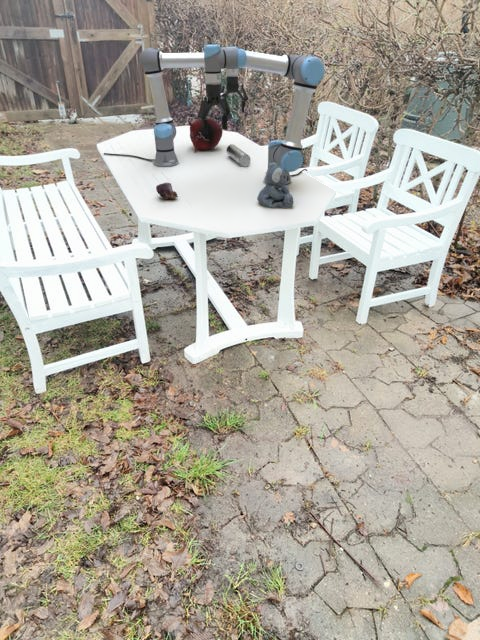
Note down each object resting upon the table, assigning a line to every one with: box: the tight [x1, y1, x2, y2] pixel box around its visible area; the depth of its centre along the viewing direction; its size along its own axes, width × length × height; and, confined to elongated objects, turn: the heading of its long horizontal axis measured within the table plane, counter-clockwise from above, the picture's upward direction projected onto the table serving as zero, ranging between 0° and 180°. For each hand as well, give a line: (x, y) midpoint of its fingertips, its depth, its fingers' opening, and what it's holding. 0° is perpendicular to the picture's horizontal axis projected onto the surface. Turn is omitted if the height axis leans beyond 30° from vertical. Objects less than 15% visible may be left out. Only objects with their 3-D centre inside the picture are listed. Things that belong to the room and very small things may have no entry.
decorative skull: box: [187, 117, 224, 153], centre depth 321 cm, size 21×24×25 cm
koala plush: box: [256, 163, 294, 209], centre depth 226 cm, size 17×18×20 cm
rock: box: [155, 182, 178, 200], centre depth 237 cm, size 12×9×10 cm
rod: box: [225, 144, 251, 168], centre depth 296 cm, size 27×8×8 cm, turn 19°
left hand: (232, 113), depth 290 cm, fingers open, 13 cm apart
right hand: (215, 131), depth 222 cm, fingers open, 13 cm apart
